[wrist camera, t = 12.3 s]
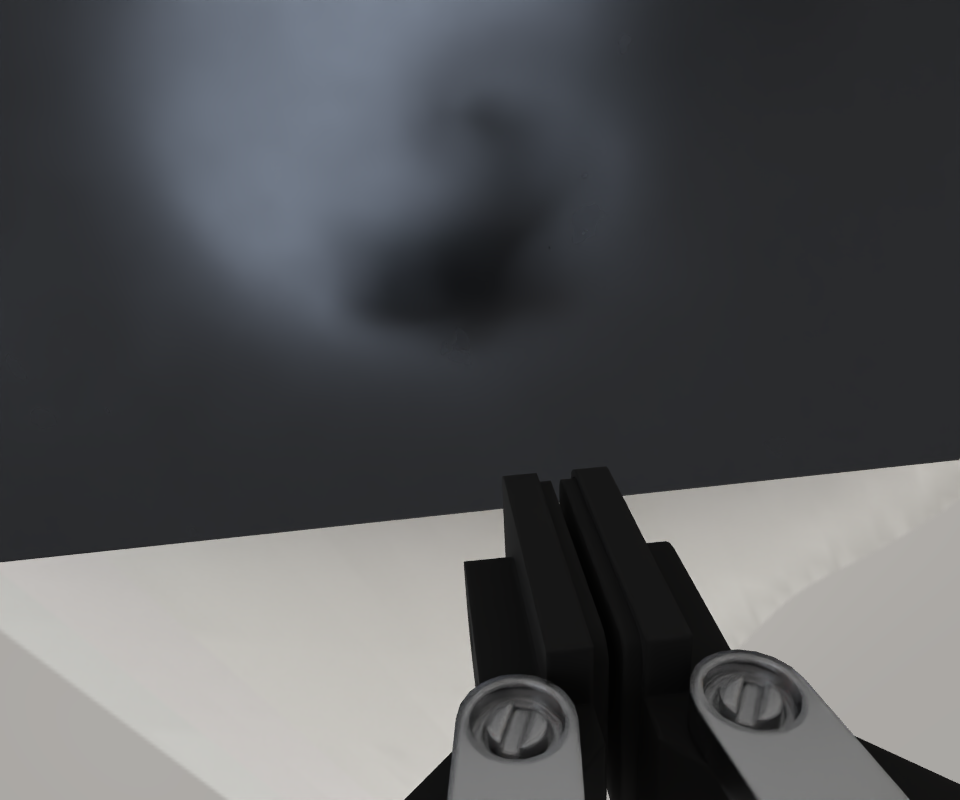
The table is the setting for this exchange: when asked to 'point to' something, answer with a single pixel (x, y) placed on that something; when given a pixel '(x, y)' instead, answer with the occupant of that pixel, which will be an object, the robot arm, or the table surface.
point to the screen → (463, 254)
